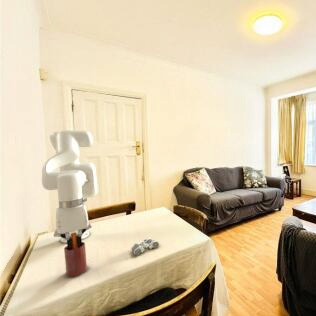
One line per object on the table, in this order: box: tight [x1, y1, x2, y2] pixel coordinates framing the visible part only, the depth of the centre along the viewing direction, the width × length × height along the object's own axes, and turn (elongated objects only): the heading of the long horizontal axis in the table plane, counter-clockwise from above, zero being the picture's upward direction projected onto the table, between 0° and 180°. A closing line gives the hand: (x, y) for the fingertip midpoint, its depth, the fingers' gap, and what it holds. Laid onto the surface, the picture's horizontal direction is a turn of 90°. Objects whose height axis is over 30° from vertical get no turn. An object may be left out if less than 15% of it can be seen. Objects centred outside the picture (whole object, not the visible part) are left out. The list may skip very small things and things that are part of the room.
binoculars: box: [130, 237, 160, 256], centre depth 103 cm, size 12×8×4 cm, turn 139°
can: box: [63, 241, 88, 278], centre depth 84 cm, size 7×7×12 cm
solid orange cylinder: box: [71, 233, 78, 250], centre depth 84 cm, size 2×2×12 cm
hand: (74, 246), depth 84 cm, fingers closed on solid orange cylinder, 2 cm apart
